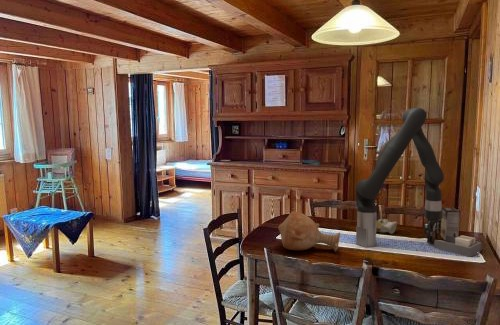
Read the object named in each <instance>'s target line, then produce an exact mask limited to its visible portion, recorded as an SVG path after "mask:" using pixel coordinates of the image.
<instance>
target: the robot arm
mask: <svg viewBox="0 0 500 325" xmlns="http://www.w3.org/2000/svg"><path fill="white" fill-rule="evenodd" d="M427 117H428V116H427V111H426V110H425V109H424V108H421V107H413V108H409V109H406V110H404V112H403V113H402V117H401V118H402V122H403V124H402V126H401V127H400V128H399V130H398V131H397V132H396V133H395V134H394V135H393V136H392V137H391V138H390V139H389V140H388V141H387V142H386V143H385V145H384V146H383V148H382V149H381V151H380V153H379V154H378V156H377V160H376V163H375V167H374V170H373V171H372V173H371V174H370V176H369V177H368V178H364V179H361V180H359V181H358V182H357V184H356V188H355V203H356V208H357V213H356V214H357V215H356V216H357V220H356V222H357V223H356V226H355V230H356V231H355V235H356V236H355V244H356V245H358V246H360V245H361V247H364V248H368V247H375V246H376V245H377V232H376V221H377V208H378V207H377V205H376V203H375V198H376V197H377V196H378V195H379V193H380V191H381V189H382V188H383V185H384V184H385V182H386V180H387V178H388V176H389V175H390V173H391V172H392V171H393V169H394V167H395V166H396V165H397V164H398V162H399V161H400V159H401V157H402V155H403V154H404V152H405V150H407V148H408V146H409V144H410V142H411V141H412V142H413V144H414V146H415V149H416V152H417V154H418V157H419V160H420V163H421V166H423V167H424V168H425V171H426V172H425V174H424V185H425V203H424V218H425V219H427V221H426V223H423V230H424V235H425V236H426V237H427V238H426V243H429V244H432V234H433V232H434V231H435V240H438V234H439V232H440V233H441V222H442V221H441V214H442V206H443V205H442V189H441V188H440V184H442V183H443V182H444V180H445V175H444V172H443V170H442V168H441V166H440V164H439V162H438V160H437V157H436V154H435V151H434V149H433V147H432V144H431V143H430V141H429V140H428V139H427V137H426V135H425V133H424V132H423V128H422V126H423V125H424V124H425V122H426V120H427ZM430 231H431V233H430Z"/></svg>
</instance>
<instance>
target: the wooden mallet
mask: <svg viewBox="0 0 500 325" xmlns="http://www.w3.org/2000/svg"><path fill="white" fill-rule="evenodd" d="M430 233H431V231H430ZM434 240H435V231H434V232H433V234H432V243H431V244H434ZM475 241H476V237H472V236H467V235H460V236H458V237H457V238H455V244H456V245H461V246H465V247H470V246H472V245H474V244H475Z"/></svg>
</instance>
